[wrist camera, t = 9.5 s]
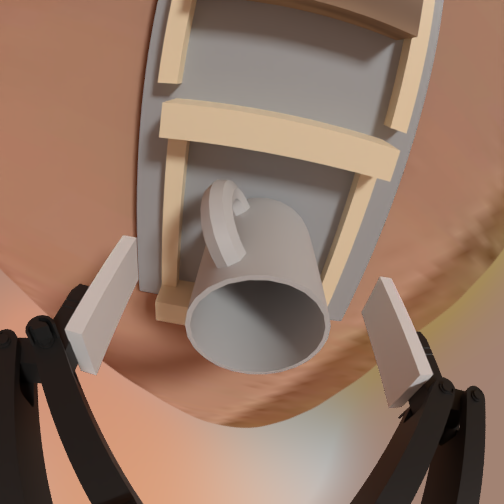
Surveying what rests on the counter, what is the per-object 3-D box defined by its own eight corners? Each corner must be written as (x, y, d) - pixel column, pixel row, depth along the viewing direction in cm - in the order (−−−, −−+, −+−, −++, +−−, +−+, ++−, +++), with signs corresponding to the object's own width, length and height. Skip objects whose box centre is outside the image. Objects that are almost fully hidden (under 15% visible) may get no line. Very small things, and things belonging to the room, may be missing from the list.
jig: (185, -77, 10) (170, -102, 7) (437, -18, 12) (468, -28, 8) (143, 282, 26) (128, 314, 23) (338, 312, 28) (347, 346, 24)
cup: (234, 290, 25) (224, 383, 17) (174, 182, 20) (124, 254, 13) (320, 264, 23) (342, 355, 16) (274, 141, 18) (284, 192, 11)
